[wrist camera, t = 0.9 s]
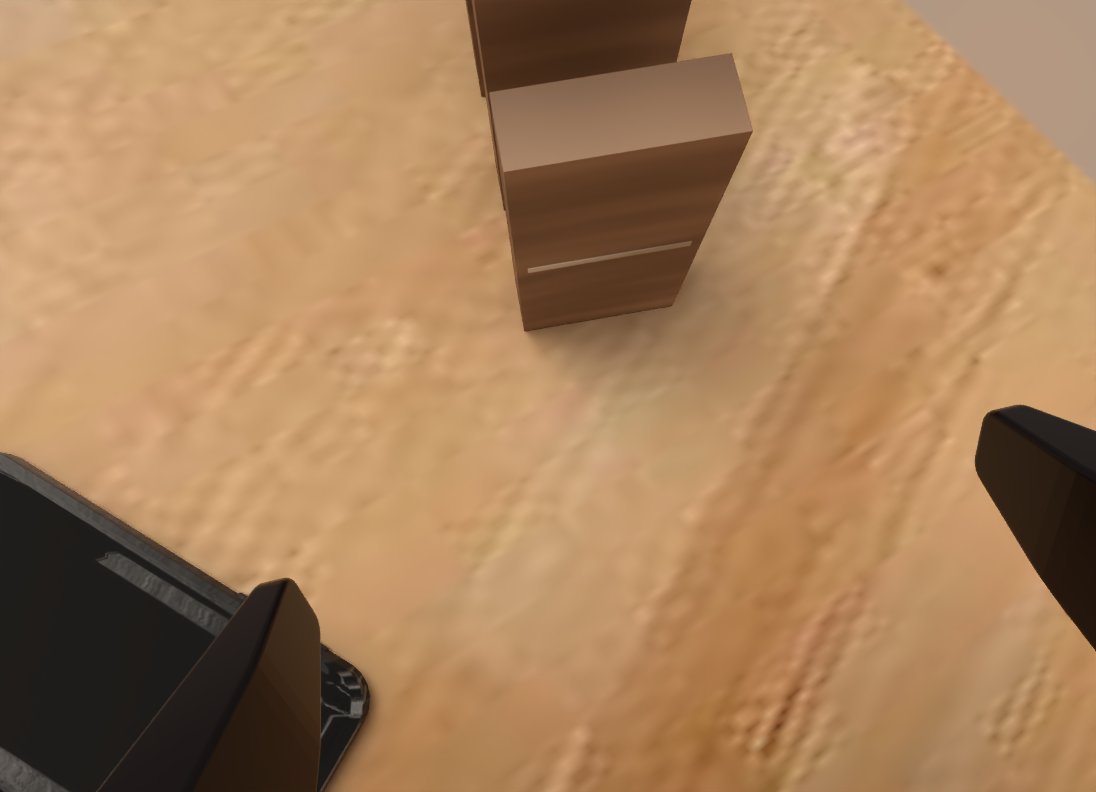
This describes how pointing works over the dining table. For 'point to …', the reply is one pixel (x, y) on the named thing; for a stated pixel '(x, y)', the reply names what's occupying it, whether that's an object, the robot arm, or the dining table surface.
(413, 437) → the dining table surface
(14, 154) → the dining table surface
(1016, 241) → the dining table surface
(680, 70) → the domino
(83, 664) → the phone
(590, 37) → the domino
